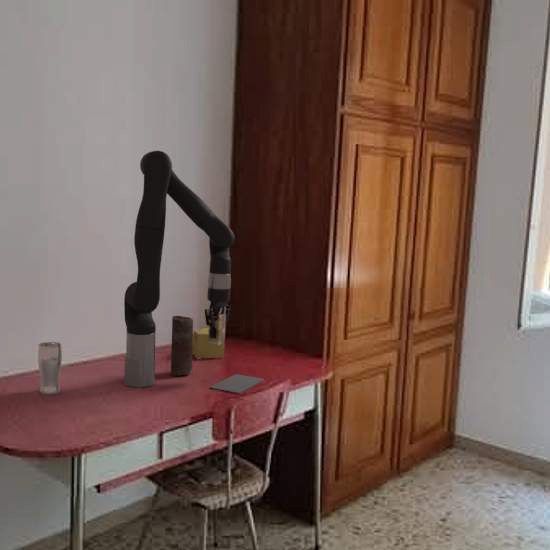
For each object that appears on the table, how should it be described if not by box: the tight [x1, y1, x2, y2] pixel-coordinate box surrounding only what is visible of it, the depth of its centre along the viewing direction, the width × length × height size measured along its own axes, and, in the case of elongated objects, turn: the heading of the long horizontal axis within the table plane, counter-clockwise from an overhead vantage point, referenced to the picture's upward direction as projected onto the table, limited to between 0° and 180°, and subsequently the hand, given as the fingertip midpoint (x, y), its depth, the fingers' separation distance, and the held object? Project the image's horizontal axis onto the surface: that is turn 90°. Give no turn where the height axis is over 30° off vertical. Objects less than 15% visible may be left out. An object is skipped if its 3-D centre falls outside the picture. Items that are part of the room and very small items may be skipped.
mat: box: [209, 373, 265, 395], centre depth 238 cm, size 18×11×1 cm, turn 155°
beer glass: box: [37, 341, 63, 395], centre depth 220 cm, size 7×7×15 cm
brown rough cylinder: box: [170, 315, 194, 377], centre depth 245 cm, size 8×7×20 cm
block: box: [208, 313, 226, 345], centre depth 240 cm, size 4×4×10 cm
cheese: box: [192, 327, 225, 360], centre depth 272 cm, size 10×11×10 cm
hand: (216, 336), depth 240 cm, fingers closed on block, 4 cm apart
